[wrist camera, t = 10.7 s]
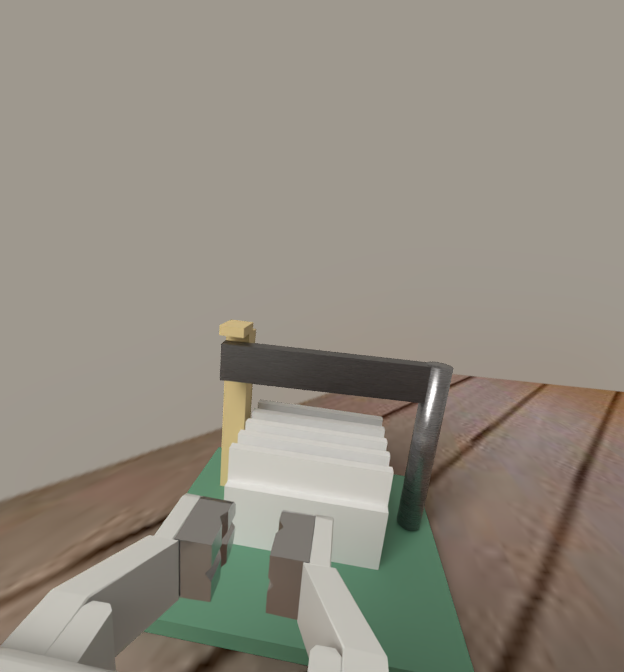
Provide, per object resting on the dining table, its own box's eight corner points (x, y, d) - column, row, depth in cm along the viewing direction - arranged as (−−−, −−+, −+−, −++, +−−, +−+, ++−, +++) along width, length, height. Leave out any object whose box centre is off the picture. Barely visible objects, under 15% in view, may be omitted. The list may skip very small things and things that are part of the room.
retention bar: (416, 514, 30) (448, 363, 27) (422, 532, 28) (457, 371, 25) (221, 490, 31) (227, 338, 27) (213, 506, 29) (219, 345, 25)
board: (413, 487, 36) (443, 334, 32) (473, 700, 19) (556, 423, 15) (218, 456, 38) (224, 308, 34) (107, 623, 20) (91, 359, 16)
